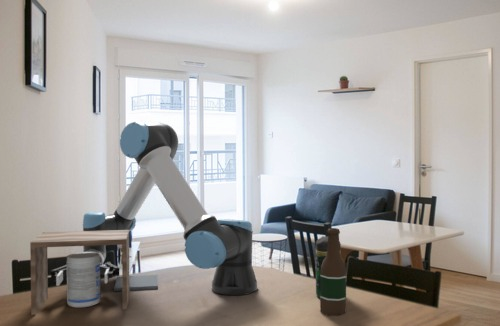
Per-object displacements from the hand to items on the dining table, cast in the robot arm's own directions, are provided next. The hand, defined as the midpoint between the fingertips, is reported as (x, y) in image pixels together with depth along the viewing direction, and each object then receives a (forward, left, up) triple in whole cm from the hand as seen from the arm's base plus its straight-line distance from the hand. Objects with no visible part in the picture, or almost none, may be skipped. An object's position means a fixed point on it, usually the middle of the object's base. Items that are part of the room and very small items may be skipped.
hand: (81, 279), depth 144 cm
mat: (+11, -24, -8) cm, 27 cm away
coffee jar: (-40, -64, -8) cm, 76 cm away
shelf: (+3, -2, -8) cm, 9 cm away
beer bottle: (-51, -53, -8) cm, 74 cm away
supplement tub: (+3, -2, -8) cm, 9 cm away
